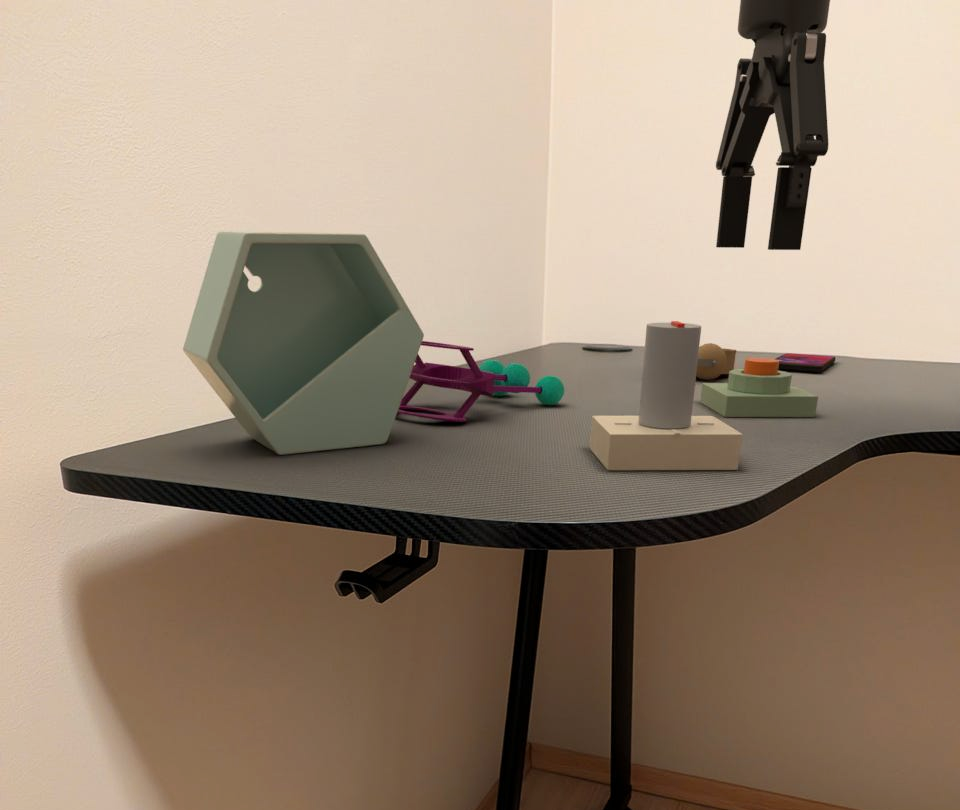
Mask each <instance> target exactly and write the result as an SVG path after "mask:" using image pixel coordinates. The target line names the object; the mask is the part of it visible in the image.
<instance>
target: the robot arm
mask: <svg viewBox="0 0 960 810" xmlns="http://www.w3.org/2000/svg"><path fill="white" fill-rule="evenodd" d="M739 2H740V3H739V13H738V21H737V22H738V23H737V32H738V35H739V36H740V37H741V38H743V39H745V40H751V41H752V42H753V43H754V48H753V52H752V56H751V58H744V57H743V58H741V57H740V58H739V60H738V62H737V65H736V67H737V68H736V74H735V82H734V88H733V92H732V96H731V100H730V105H729V108H728V113H727V117H726V121H725V125H724V130H723V134H722V137H721V141H720V146H719V150H718V154H717V158H716V161H715V168H716V170H717V171H721V176H722V186H721V197H720V207H719V215H718V227H717V235H716V247H715V248H723V249H724V248H734V249H735V248H736V249H737V248H738V249H739V248H745V242H746V235H747V227H748V217H749V211H750V210H749V209H750V202H751V201H750V199H751V192H752V182H753V177H755V175H756V173H755V169H754V165H752V164H753V162H754V159H755V157H756V154H757V151H758V149H759V146H760V143H761V140H762V138H763V135H764V133H765V130H766V127H767V125H768V122H769V120H770V117H771V116H772V115H774V117H775V122H776V127H777V133H778V138H779V144H780V149H781V152H780V154H779V156H778V158H777V160H776V162H775V165H776V166H777V173H776V180H775V188H774V189H775V190H774V196H773V197H774V198H773V203H772V205H773V206H772V213H771V220H770V229H769V237H768V245H767V250H769V251H777V250H778V251H801V248H802V242H803V241H802V240H803V234H804V226H805V220H806V212H807V205H808V197H809V191H810V184H811V176H812V167H815V166H816V163H817V161H818V157H824V156H826V155H827V153H828V151H829V129H828V128H829V127H828V111H827V95H826V94H827V92H826V76H825V75H826V74H825V55H826V44H827V34H826V32H824V31H825V29H826V28H827V26H828V19H829V18H828V17H829V13H830V3H831V0H740V1H739Z"/></svg>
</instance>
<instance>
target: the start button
mask: <svg viewBox="0 0 960 810" xmlns="http://www.w3.org/2000/svg"><path fill="white" fill-rule="evenodd" d="M778 367H779V360H776V358H768V357H767V358H766V357H748V358H745V359H744V366H743V369H744V374H750V375H762V376H773V375H777V374H778V371H779V369H778Z"/></svg>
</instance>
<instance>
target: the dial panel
mask: <svg viewBox="0 0 960 810" xmlns="http://www.w3.org/2000/svg"><path fill="white" fill-rule="evenodd" d="M638 420H639V415H592V416H591V427H590V443H589V450H590V451H591V452H592V453H593V454H594V456H595V457H596V458H597V459H598V461H599V462H600V463H601V464H602V465H603V467H604V468H605V469H606V470H607V471H739V464H740V457H741V449H742V443H743V442H742V441H743V433H741V432H739V431H738V430H736V429H735V428H733V427H731V426H730V425H728V424H727V423H725V422H723V421H722V420H721V419H718V418H717V417H715V416H714V415H692V417H691V425H690V426H689V427H686V428H679V429H662V428H653V427H647V426H643V425H641V424H639V422H638Z"/></svg>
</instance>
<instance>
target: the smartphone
mask: <svg viewBox="0 0 960 810" xmlns="http://www.w3.org/2000/svg"><path fill="white" fill-rule="evenodd" d="M836 358H837V357H835V356H832V355H821V354H820V355H818V354H803V353H784V354H782V355H780V356H778V357H776V358H775V359H776V360H779V367H778V370H791V371H806V372H822V371H824V370H825V369H826V368H828V367H829V366H831V365H832V364H834V363H835V362H836Z"/></svg>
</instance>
